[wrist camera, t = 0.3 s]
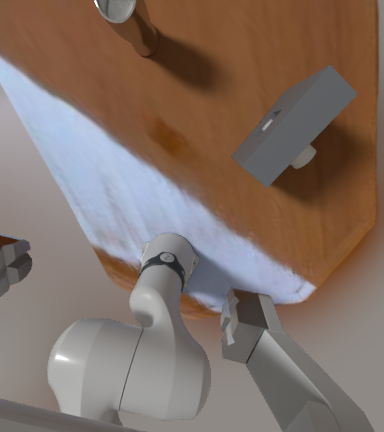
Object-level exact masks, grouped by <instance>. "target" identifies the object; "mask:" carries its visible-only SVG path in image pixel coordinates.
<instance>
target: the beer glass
mask: <svg viewBox="0 0 384 432" xmlns="http://www.w3.org/2000/svg"><path fill="white" fill-rule="evenodd" d="M95 3H96V6H97V8H98V10H99V12H100V13H101V15H102V16H103V17H104V18H105V20H106V21H107V23H108V24H109V25H110V26H111V28H112V29H113V30H114V31H115V32H116V33H117V34H118V35H119V36H120V37H122V38H123V39H124V40H126V41H128V42H130V43H131V44H132V46H133V48H134V50H135V51H136V52H137V53H138V54H139V55H141V56H145V57H147V56H151V55H152V54H153V53H154V52H155V51H156V49H157V47H158V42H159V38H158V33H157V30H156V29H155V27H154V26H153V25H152V24H151V23H150V18H149V14H148V10H147V7H146V4H145V1H144V0H95Z"/></svg>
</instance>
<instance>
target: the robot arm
mask: <svg viewBox="0 0 384 432" xmlns="http://www.w3.org/2000/svg"><path fill="white" fill-rule="evenodd" d="M29 251H30V244H29V242H28V241H26V240H24V239H20V238H17V237H13V236H9V235H5V234H0V297H1V296H2V295H3V294H4V293H6V292H7V291H8V290H9V287H10V285H12V284H15V283H18V282H20V281H21V280H23V279H24V278H25V277H26V276H27V275H28V273H29V272H30V270H31V267H32V258H31V257H30V256H29V255H28V252H29ZM141 262H142V268H141V271H140V274H139V279H138V281H137V283H136V285H135V287H134V289H133V291H132V293H131V296H130V308H131V311H132V313H133V316H134V317H135V319H136V320H137V321H138V322H139V323H140V324H141V325H142V326H143V327H141V326H137V325H133V324H129V323H125V322H121V321H117V320H113V319H107V318H82V319H80V320H78V321H76V322H75V323H73V324H72V325H71V326H70V327H68V328H67V329H66V330H65V331H64V332H63V333H62V335H61V336H60V337H59V339H58V340H57V342H56V343H55V345H54V347H53V349H52V351H51V354H50V357H49V361H48V368H47V377H48V382H49V385H50V387H51V388H52V390H53V391H54V393H55V396H56V398H57V401H58V403H59V407H60V410H61V412H57V411H52V410H48V409H43V408H39V407H35V406H30V405H26V404H21V403H17V402H13V401H8V400H4V399H0V432H145V431H140V430H136V429H132V428H127V427H124V426H123V425H122V423H121V421H120V419H119V416H118V411H119V410H121V411H125V412H129V413H133V414H137V415H142V416H145V417H150V418H154V419H158V420H162V421H171V420H172V421H173V420H189V419H194V418H195V417H196V416H197V415H198V413H199V412H200V411H201V409H202V408H203V406H204V404H205V402H206V400H207V397H208V394H209V390H210V385H211V369H210V364H209V360H208V357H207V355H206V352H205V350H204V349H203V347H202V346H201V345H200V344H199V343H197V342H196V340H195V339H194V338H193V337H192V336H191V334H190V333H189V332H188V330H187V328H186V327H185V325H184V323H183V320H182V318H181V314H180V295H181V292H182V290H183V288H187V286H188V283H189V281H188V280H190V278H191V275H192V273H193V271H194V269H195V268H196V266H197V264H198V262H199V257H198V256H197V255H196V254H195V253H194V251H193V249H192V247H191V245H190V243H189V242H188V241H187V240H186V239H185V238H183V237H182V236H180V235H177V234H173V233H165V234H161V235H158V236H157V237H155V238H154V239H153V240H152V241H150V242H146V243H144V244H143V245H142V258H141ZM193 262H195V263H193ZM221 329H222V331H223V332H224V335H223V337H222V354H223V358H224V359H229V360H232V361H236V362H240V363H244V364H246V367H247V368H248V370H249V372H250V374H251V375H252V377H253V379H254V381H255V383H256V384H257V386H258V388H259V389H260V392H261V393H262V395H263V397H264V399H265V400H266V402H267V404H268V406H269V408H270V409H271V411H272V413H273V415H274V416H275V418H276V420H277V422H278V424H279V425H280V427H281V429H282V430H283V432H374V430H373V428H372V426H371V424H370V422H369V421H368V419H367V417H366V415H365V413H364V412H363V411H362V410H361V409H360V408H359V407H358V406H357V404H356V403H355V402H354V401H353V400H352V399H350V397H349V396H348V395H347V394H346V393H345V392H344V391H343V390H342V389H341V388H340V387H339V386H338V385H337V384H336V383H335V382H334V381H333V380H332V379H331V378H330V376H329V375H328V374H327V373H326V372H325V371H323V369H322V368H321V367H320V366H319V365H318V364H317V363H316V362H315V361H314V360H313V359H312V358H311V357H310V356H309V355H308V354H307V353H306V352H305V351H304V349H303V348H301V346H300V345H299V344H298V343H297V342H296V341H295V340H294V339H293V338H292V337H291V336H290V335H288V334H285V332H284V330H283V327H282V325H281V322H280V319H279V317H278V314H277V312H276V309H275V307H274V304H273V301H272V299H271V297H270V296H269V295H265V294H260V293H254V292H249V291H245V290H240V289H236V288H232V287H231V288H230V290H229V292H228V301H227V302H225V303H224V305H223V308H222V313H221Z"/></svg>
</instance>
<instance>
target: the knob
mask: <svg viewBox="0 0 384 432" xmlns="http://www.w3.org/2000/svg"><path fill="white" fill-rule="evenodd" d="M272 121H273V120H272V119H270V120H268V121H267V122H266V124H265V125H264V126H263V127H262V130H263V131H264V130H265V129H266V128H267V127H268V126H269V124H270V123H271V122H272ZM315 154H316V150H315V149H314V148H313V147H312V146H311V145H310V144H309V145H308V146H307V147H306V148H305V149H304V150H303V151H302V152H301V153H300V154H299V155H298V156H297V157H296V159H295V160H294V161H293V162H292V163H291V164H290V165H291V166H293V167H294V168H295V169H298V168H301V167H303V166H304V165H306V164H307V163H308V162H309V161H310V160H311V159H312V158H313V157H314V155H315Z"/></svg>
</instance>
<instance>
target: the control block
mask: <svg viewBox="0 0 384 432" xmlns="http://www.w3.org/2000/svg"><path fill="white" fill-rule="evenodd" d="M356 95H357V93H356V92H355V91H354V90H353V89H352V87H351V86H350V85H349V84H348V83H347V82H346V81H345V80H344V79H343V78H342V77H341V76H340V75H339V74H338V73H337V71H336V70H335V69H334V68H333V67H332V66H331V65H329V66H327V67H325V68H324V69H322V70H320V71H319V72H317V73H315V74H314V75H312V76H310V77H308V78H307V79H305V80H303V81H302V82H300V83H298V84H297V85H295V86H293V87H291V88H290V89H288V90H286V91H285V92H284V93H283V94H282V96H281V97H280V98H279V99H278V101H277V102H276V103H275V104H274V105H273V107H272V108H271V109H270V110H269V111H268V113H267V114H266V115H265V116H264V118H263V119H262V120H261V121H260V122H259V124H258V125H257V126H256V127H255V128H254V130H253V131H252V132H251V133H250V135H249V136H248V137H247V138H246V139H245V141H244V142H243V143H242V144H241V146H240V147H239V148H238V149H237V150H236V152H235V153H234V154H233V155H232V156H231V157H232V158H233V159H234V160H235V161H236V162H237V163H238V164H239V165H240V166H241V167H243V168H244V169H245V170H246V171H247V172H249V173H250V174H251V175H252V176H253V177H255V178H256V179H257V180H258V181H259V182H260V183H262V184H263V185H264V186H265V187H266V188H268V186H269V185H270V184H271V183H272V182H273V181H274V180H275V179H276V178H277V177H278V176H279V175H280V174H281V173H282V172H283V171H284V170H285V169H286V168H287V167H288V166H289V165H290V164H291V163H292V162H293V161H294V160H295V159H296V157H297V156H298V155H299V154H300V153H301V152H302V151H303V150H304V149H305V148H306V147H307V146H308V145H309V144H310V143H311V142H312V141H313V140H314V139H315V138H316V137H317V136H318V135H319V134H320V133H321V132H322V131H323V130H324V128H325V127H326V126H327V125H328V124H329V123H330V122H331V121H332V120H333V119H334V118H335V117H336V116H337V115H338V114H339V113H340V112H341V111H342V110H343V109H344V108H345V107H346V106H347V105H348V104H349V103H350V102H351V101H352V99H353V98H354V97H355V96H356ZM270 119H272V120H273V121H272V122H271V123H270V124H269V126H268V127H267V128H266V129H265V130H264V131H263V130H262V127H263V126H264V125H265V124H266V122H267V121H268V120H270Z"/></svg>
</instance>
